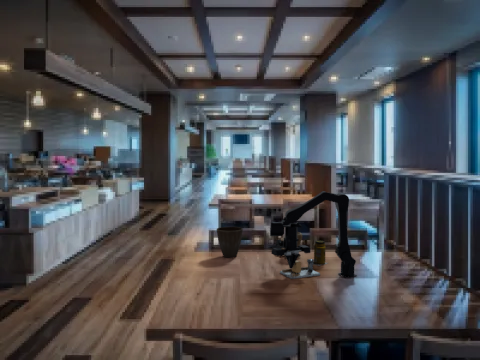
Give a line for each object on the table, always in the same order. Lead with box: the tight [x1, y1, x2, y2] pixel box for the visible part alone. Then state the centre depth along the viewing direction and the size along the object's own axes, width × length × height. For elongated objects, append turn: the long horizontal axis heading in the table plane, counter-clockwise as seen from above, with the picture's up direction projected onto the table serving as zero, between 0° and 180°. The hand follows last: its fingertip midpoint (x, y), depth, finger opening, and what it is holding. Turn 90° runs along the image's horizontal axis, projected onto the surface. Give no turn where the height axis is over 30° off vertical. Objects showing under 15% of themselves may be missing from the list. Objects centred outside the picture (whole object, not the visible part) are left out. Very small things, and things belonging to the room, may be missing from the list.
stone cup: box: [281, 231, 303, 258], centre depth 247 cm, size 15×12×15 cm
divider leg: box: [291, 259, 302, 273], centre depth 211 cm, size 6×2×5 cm, turn 23°
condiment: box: [313, 240, 329, 267], centre depth 231 cm, size 7×8×12 cm
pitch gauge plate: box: [279, 258, 321, 280], centre depth 210 cm, size 11×16×6 cm
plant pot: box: [216, 226, 243, 259], centre depth 246 cm, size 15×15×16 cm
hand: (290, 268), depth 208 cm, fingers closed
